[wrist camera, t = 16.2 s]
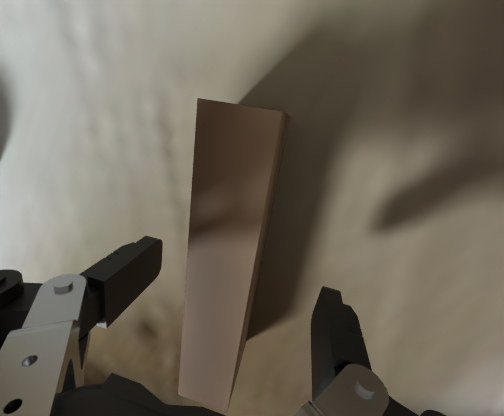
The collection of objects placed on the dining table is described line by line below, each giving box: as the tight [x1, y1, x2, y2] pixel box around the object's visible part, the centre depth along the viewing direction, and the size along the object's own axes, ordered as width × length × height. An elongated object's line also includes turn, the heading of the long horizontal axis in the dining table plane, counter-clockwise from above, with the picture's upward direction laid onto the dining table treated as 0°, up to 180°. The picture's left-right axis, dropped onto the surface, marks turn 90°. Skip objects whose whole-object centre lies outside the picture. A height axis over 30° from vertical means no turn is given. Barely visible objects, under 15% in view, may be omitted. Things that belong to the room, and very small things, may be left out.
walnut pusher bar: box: [178, 98, 290, 411], centre depth 13 cm, size 3×16×5 cm, turn 171°
